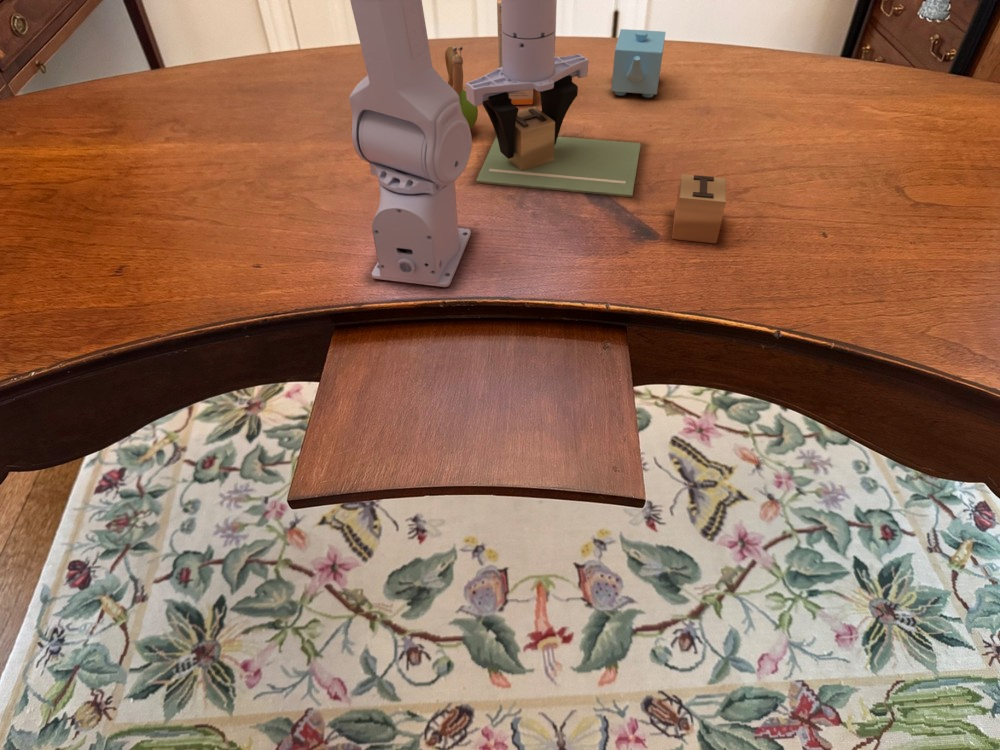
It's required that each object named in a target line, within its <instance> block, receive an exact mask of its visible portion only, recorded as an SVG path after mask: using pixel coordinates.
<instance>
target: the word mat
mask: <svg viewBox="0 0 1000 750" xmlns="http://www.w3.org/2000/svg"><path fill="white" fill-rule="evenodd" d="M492 142H493V143H492V145H491V147H490V149H489V151H488V153H487V156H486V158H485V160H484V162H483V165H482V166H481V169H480V170H479V173H478V175H477V178H476V180H475V183H477V184H486V185H487V184H488V185H497V186H498V185H499V186H506V187H507V186H509V187H518V188H528V189H538V190H539V189H541V190H548V191H549V190H550V191H561V192H572V193H581V194H590V195H591V194H593V195H602V196H612V197H613V196H614V197H623V198H633V196H634V188H635V183H636V178H637V177H636V176H637V171H638V165H639V164H638V163H639V158H640V152H641V147H642V143H641V142H633V141H632V142H631V141H620V140H619V141H618V140H607V139H595V138H585V137H584V138H582V137H571V136H559V135H558V137H557V141H556V144H555V145H554V161H552V162H549V163H546V164H543V165H539V166H536V167H533V168H530V169H526V170H523V171H521V170H520V169H519V168H518V167H516V166H515V165H514V164H513V163H512V162H511V161H510V160H509V159H508V158H506V157H505V156H504V155H503V154H502V153H501V152H500V147H499V143H498V139H497V136H496V135H495V137H494V140H493V141H492Z"/></svg>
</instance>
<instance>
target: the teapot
mask: <svg viewBox="0 0 1000 750" xmlns="http://www.w3.org/2000/svg"><path fill="white" fill-rule="evenodd" d="M665 40H666V31H661V30H659V31H658V30H646V29H628V28H627V29H625V28H621V29H620V30H619V33H618V37H617V41H616V45H615V48H614V57H613V66H612V67H613V68H612V79H611V89H610V90H611V91H610V92H614V93H615V95H616V96H626V94H627V93H630V94H631V93H632V94H641V96H642V97H644V98H653V97H654V95H657V94H658V89H659V82H660V75H661V67H662V61H663V54H664V53H663V52H664V48H665Z"/></svg>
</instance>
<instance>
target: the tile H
mask: <svg viewBox="0 0 1000 750" xmlns="http://www.w3.org/2000/svg"><path fill="white" fill-rule="evenodd" d="M554 140H555V121H554V120H552V119H551V118H550V117H548V116H547V115H546V114H544V113H543V112H542V109H540V108H538V107H537V106H533V107H528V108H525V109H521V110H518V114H517V118H516V123H515V131H514V157H513V158H509V160H510V161H511V162H512V163H513V164H514V165H515V166H516V167H518V168H519V169H520V170H521V171H523V170H526V169H530V168H533V167H536V166H539V165H543V164H546V163H549V162H552V161H554ZM505 157H506V156H505ZM506 158H507V157H506Z"/></svg>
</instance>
